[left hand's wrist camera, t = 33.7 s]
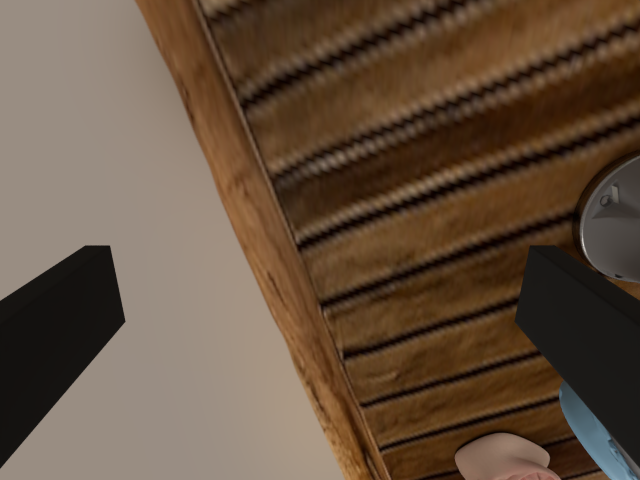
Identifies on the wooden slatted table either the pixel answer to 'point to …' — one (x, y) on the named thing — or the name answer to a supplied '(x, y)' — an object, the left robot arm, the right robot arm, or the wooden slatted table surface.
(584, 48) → the wooden slatted table surface
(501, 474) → the anatomical model
